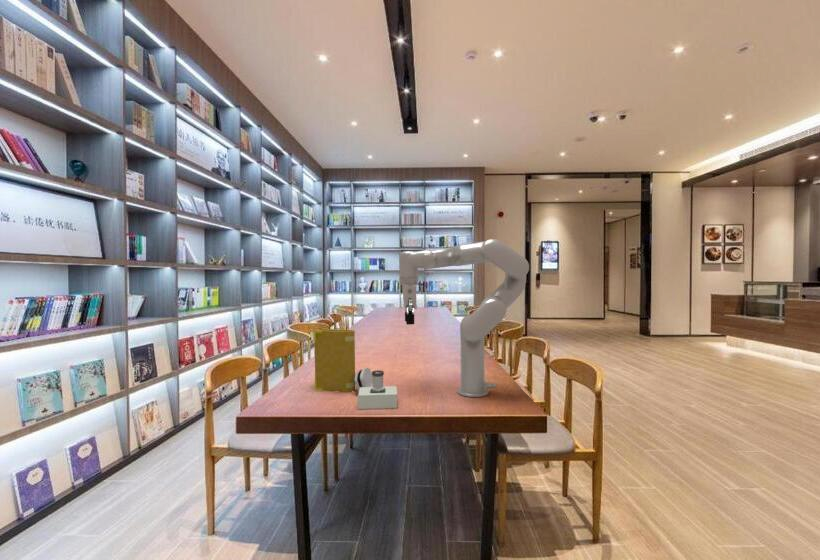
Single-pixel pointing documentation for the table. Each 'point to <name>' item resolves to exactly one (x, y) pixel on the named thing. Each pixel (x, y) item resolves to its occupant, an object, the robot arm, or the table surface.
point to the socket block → (377, 398)
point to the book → (334, 360)
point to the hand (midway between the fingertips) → (409, 322)
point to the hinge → (363, 378)
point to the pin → (377, 381)
